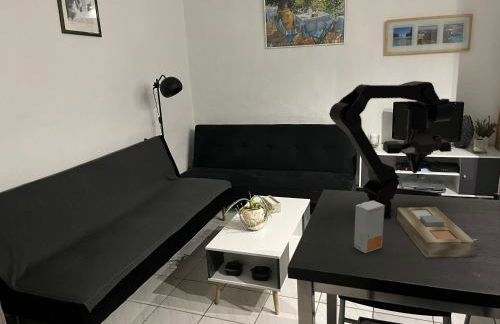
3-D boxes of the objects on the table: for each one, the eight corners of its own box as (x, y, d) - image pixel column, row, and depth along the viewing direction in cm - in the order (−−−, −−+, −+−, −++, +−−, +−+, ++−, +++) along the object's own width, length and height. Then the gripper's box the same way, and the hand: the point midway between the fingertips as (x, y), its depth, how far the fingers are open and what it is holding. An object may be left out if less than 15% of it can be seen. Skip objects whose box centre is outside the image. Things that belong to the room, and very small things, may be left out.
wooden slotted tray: (426, 257, 92) (427, 242, 91) (396, 220, 113) (397, 207, 112) (472, 256, 92) (474, 241, 91) (434, 219, 113) (435, 206, 112)
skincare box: (365, 254, 95) (367, 210, 92) (353, 247, 99) (354, 204, 96) (383, 247, 98) (385, 204, 95) (370, 241, 102) (372, 199, 98)
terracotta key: (437, 247, 93) (437, 239, 93) (429, 239, 98) (430, 231, 97) (455, 247, 93) (456, 238, 93) (447, 238, 97) (448, 231, 97)
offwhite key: (416, 223, 107) (416, 216, 106) (410, 217, 111) (411, 210, 111) (432, 223, 107) (432, 216, 106) (425, 217, 111) (426, 210, 110)
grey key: (426, 230, 100) (426, 222, 99) (419, 223, 104) (420, 215, 103) (443, 229, 99) (444, 221, 99) (436, 222, 104) (437, 215, 103)
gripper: (394, 129, 107) (391, 182, 111) (462, 127, 106) (457, 180, 110) (383, 123, 118) (381, 171, 122) (445, 120, 116) (440, 169, 120)
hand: (414, 173), depth 118 cm, fingers closed
